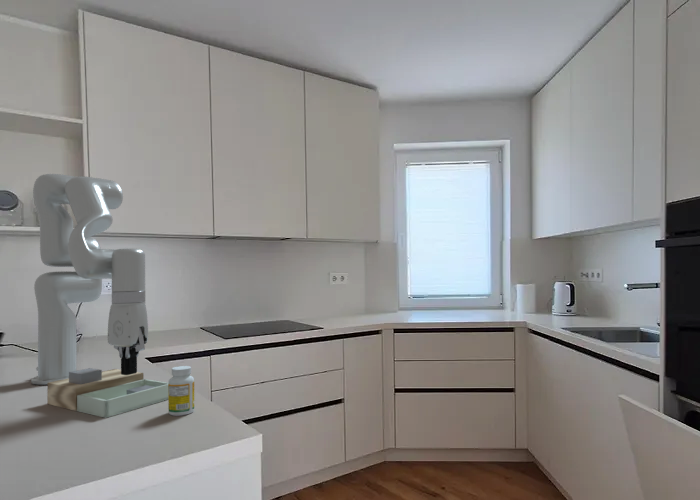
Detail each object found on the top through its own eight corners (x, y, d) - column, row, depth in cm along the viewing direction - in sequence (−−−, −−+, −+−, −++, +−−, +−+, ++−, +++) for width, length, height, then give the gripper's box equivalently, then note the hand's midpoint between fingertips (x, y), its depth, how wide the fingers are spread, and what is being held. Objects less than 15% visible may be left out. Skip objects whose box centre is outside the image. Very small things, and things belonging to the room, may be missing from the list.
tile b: (68, 382, 110) (68, 372, 110) (89, 377, 114) (89, 368, 114) (80, 384, 107) (80, 374, 107) (101, 379, 112) (101, 369, 112)
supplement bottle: (181, 417, 97) (181, 371, 97) (162, 414, 99) (162, 369, 100) (200, 410, 102) (199, 366, 102) (181, 407, 104) (181, 364, 104)
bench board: (47, 404, 110) (47, 382, 110) (115, 387, 124) (115, 368, 125) (75, 410, 104) (75, 388, 104) (143, 392, 118) (143, 372, 118)
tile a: (139, 392, 107) (139, 402, 107) (158, 387, 111) (158, 397, 111) (126, 389, 109) (126, 400, 109) (145, 385, 114) (145, 395, 113)
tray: (77, 411, 103) (77, 395, 103) (145, 392, 118) (144, 379, 118) (105, 417, 98) (105, 401, 98) (173, 397, 112) (173, 383, 113)
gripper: (96, 299, 115) (96, 374, 114) (133, 300, 107) (134, 380, 106) (124, 297, 121) (124, 368, 120) (161, 298, 114) (162, 373, 113)
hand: (129, 373), depth 113 cm, fingers closed
